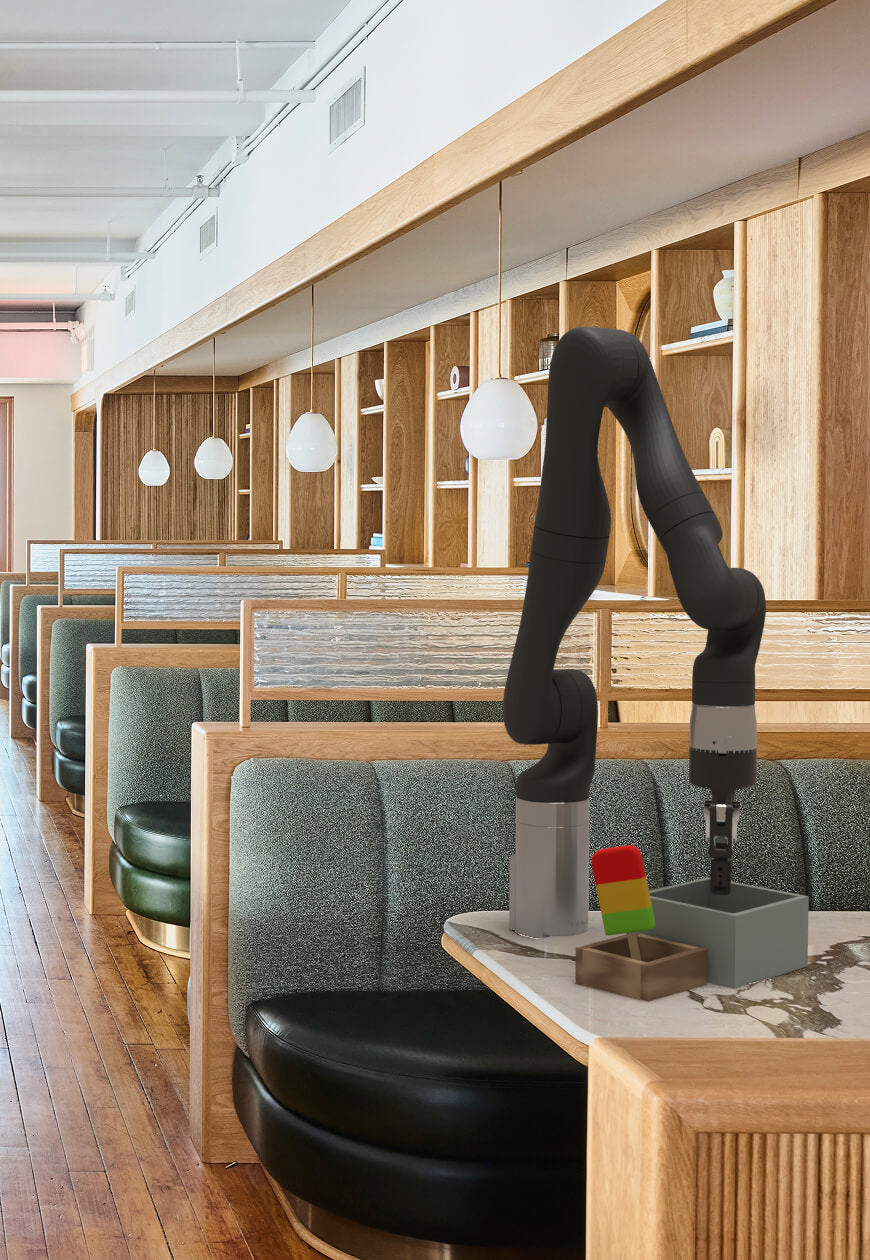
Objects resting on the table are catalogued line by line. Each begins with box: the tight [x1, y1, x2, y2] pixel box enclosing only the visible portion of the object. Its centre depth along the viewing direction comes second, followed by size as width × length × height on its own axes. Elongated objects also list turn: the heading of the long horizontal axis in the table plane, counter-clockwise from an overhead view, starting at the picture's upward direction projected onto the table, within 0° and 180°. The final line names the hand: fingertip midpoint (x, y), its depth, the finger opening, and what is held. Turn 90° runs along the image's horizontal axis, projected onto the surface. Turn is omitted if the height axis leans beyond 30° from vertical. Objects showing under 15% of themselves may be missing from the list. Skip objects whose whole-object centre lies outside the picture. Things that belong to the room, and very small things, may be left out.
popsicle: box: [590, 844, 656, 961], centre depth 161 cm, size 6×15×2 cm
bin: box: [636, 877, 810, 990], centre depth 169 cm, size 14×14×8 cm
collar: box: [574, 933, 707, 1003], centre depth 161 cm, size 10×10×4 cm
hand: (721, 885), depth 168 cm, fingers open, 8 cm apart
